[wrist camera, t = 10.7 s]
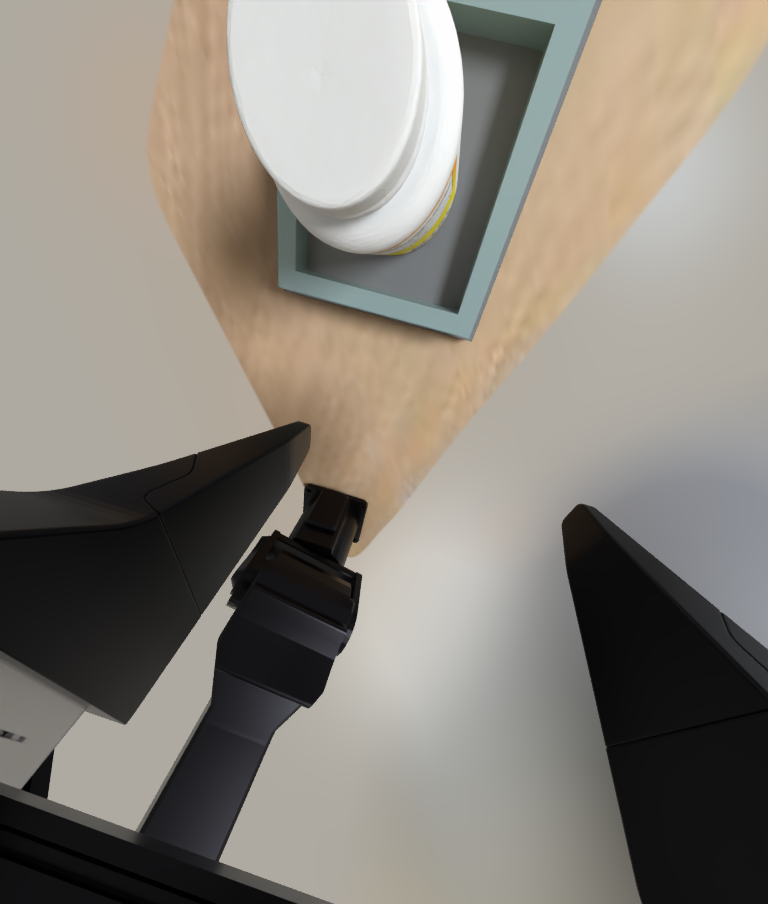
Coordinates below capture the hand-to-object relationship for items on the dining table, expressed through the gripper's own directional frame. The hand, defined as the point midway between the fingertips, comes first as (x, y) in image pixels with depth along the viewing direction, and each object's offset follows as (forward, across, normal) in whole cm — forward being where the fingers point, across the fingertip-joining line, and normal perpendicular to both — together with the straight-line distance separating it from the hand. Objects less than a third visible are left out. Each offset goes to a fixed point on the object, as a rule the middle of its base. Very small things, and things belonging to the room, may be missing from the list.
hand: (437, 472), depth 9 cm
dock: (+12, +5, -8) cm, 15 cm away
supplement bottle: (+11, +5, -8) cm, 15 cm away
